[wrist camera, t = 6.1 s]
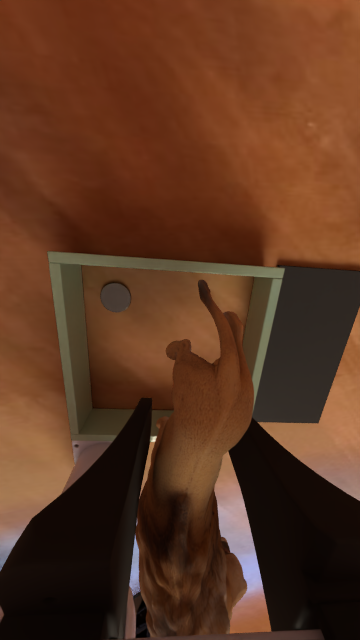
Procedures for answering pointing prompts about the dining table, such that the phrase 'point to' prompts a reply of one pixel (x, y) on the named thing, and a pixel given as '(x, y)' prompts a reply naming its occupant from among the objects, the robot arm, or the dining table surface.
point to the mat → (306, 343)
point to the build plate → (140, 617)
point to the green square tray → (117, 299)
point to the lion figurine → (194, 489)
